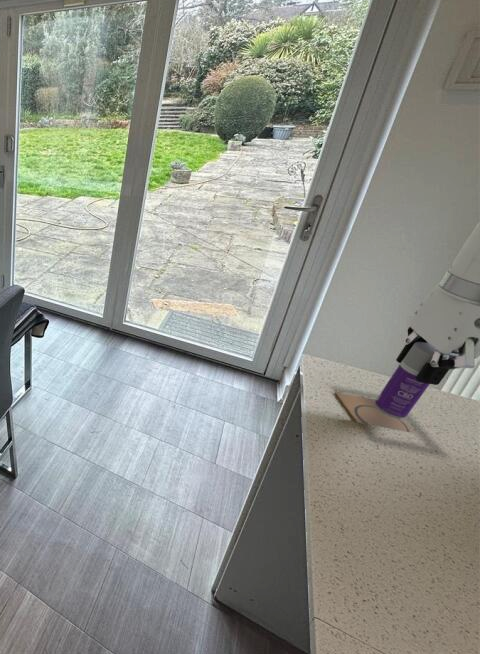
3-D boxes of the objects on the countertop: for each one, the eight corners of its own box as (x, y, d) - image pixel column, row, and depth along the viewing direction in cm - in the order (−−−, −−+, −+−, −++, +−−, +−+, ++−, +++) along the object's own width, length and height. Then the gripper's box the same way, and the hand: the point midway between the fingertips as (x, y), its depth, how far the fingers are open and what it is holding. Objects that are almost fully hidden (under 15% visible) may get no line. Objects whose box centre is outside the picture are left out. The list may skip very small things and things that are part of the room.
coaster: (388, 403, 89) (389, 401, 88) (434, 456, 77) (435, 454, 76) (334, 393, 91) (335, 391, 91) (371, 443, 79) (372, 441, 79)
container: (383, 416, 79) (425, 355, 72) (368, 399, 83) (407, 339, 76) (412, 421, 78) (457, 359, 71) (395, 403, 82) (437, 343, 75)
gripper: (552, 319, 60) (477, 410, 68) (462, 269, 74) (409, 349, 83) (488, 310, 61) (422, 400, 70) (412, 263, 76) (366, 342, 84)
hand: (416, 371), depth 76 cm, fingers closed on container, 4 cm apart
